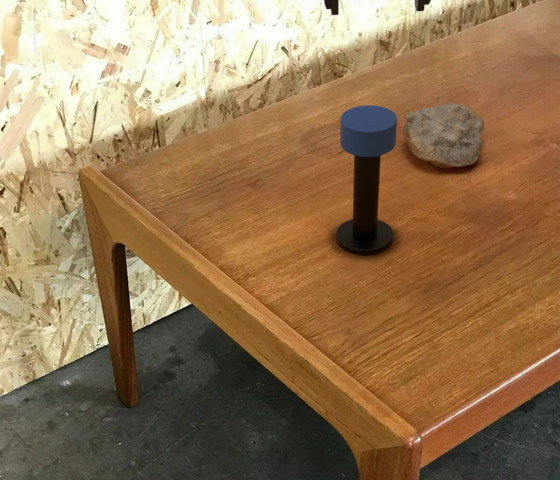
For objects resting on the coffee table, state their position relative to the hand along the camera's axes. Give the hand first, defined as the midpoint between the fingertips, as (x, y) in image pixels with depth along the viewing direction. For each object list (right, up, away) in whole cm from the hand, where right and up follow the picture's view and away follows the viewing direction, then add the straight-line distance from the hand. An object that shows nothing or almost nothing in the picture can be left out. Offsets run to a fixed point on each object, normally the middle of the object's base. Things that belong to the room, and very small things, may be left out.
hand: (377, 10), depth 80 cm
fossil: (+13, -5, +32) cm, 35 cm away
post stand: (+1, -20, +18) cm, 27 cm away
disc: (0, -11, +9) cm, 14 cm away
